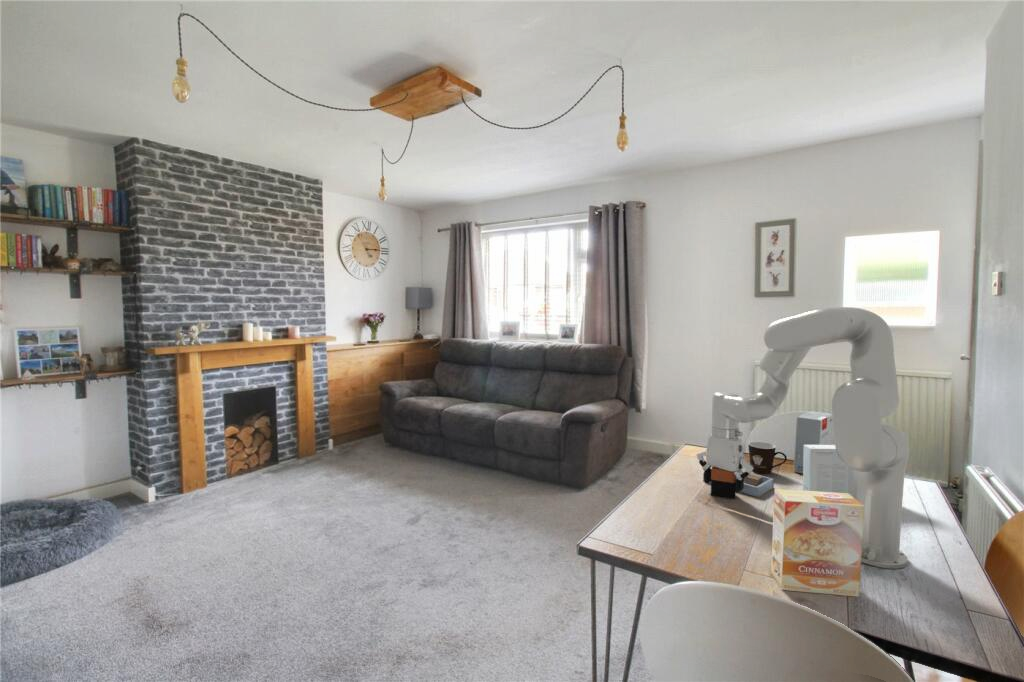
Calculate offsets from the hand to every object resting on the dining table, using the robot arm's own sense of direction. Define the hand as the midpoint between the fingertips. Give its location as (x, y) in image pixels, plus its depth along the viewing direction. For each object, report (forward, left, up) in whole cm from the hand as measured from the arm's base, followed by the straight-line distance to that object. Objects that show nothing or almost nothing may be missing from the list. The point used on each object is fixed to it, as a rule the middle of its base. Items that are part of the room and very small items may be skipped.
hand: (723, 486), depth 150 cm
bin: (+12, +1, -3) cm, 12 cm away
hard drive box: (+47, -10, -4) cm, 48 cm away
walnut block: (+12, -4, -3) cm, 13 cm away
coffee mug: (+30, 0, -3) cm, 30 cm away
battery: (0, 0, -4) cm, 4 cm away
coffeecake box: (-31, -35, -4) cm, 47 cm away
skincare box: (+27, -24, -4) cm, 36 cm away
